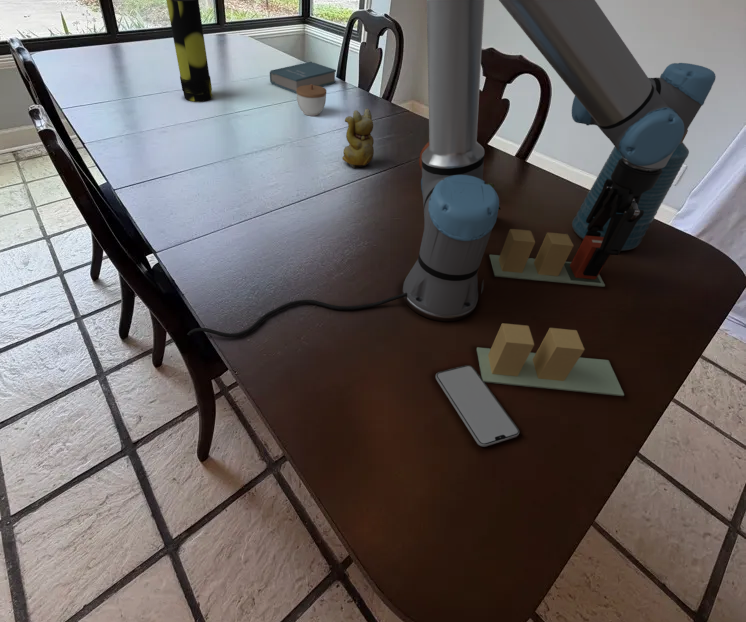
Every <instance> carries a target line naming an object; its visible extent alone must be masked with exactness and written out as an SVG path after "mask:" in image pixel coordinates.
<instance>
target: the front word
mask: <svg viewBox="0 0 746 622" xmlns="http://www.w3.org/2000/svg"><path fill="white" fill-rule="evenodd" d="M534 347H535V341H534V338H533V335H532V332H531V329H530V326H529V325H527V324H526V325H524V324H515V323H514V324H513V323H503V322H502V323H501V325H500V327H499V329H498V331H497V333H496V336H495V338H494V341H493V342H492V345H491V348H489V347H479V346H477V347H476V354H477V360H478V364H479V372H480V377H481V379H482V380H483V381H484V383H485V384H487V383H488V384H495V385H506V386H507V385H508V386H517V387H518V386H519V387H527V388H537V389H545V390H546V389H547V390H557V391H565V392H567V391H568V392H577V393H585V394H598V395H606V396H617V397H618V396H619V397H624V396H625V393H624V391H623V389H622V387H621V384H620V382H619V380H618V377H617V375H616V373H615V371H614V368H613V367H612V365H611V362H610V360H609V359H600V358H591V357H582V354H583V353H584V352H585V350H586V349H585V347H584V345H583V341H582V340H581V337H580V334H579V333H578V330H576V329H566V328H557V327H549V328H548V331H547V332H546V334H545V335H544V337H543V339H542V341H541V343H540V345H539V346H538V349H537V350H536V352H532V350H533V348H534Z"/></svg>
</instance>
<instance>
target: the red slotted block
mask: <svg viewBox="0 0 746 622" xmlns="http://www.w3.org/2000/svg"><path fill="white" fill-rule="evenodd" d="M603 238H604V237H598V236H587V235H586V236H585V237H584V239H583V240H582V241H581V243H580V245H579V247H578V249H577V250H578V251H577V250H576V252H577V253H576V252H575V254H576V255H575V254H574V257H573V259H572V261H570V262H571V264H570V267H571V269H572V271H573V274H574V276H575V277H576V278H586V279H596V278H597V276H598V275H600V273H601V271H602V270H603V267H604V266H605V264H606V263H607V261H608V259H609V257H610V256H611V254H610V255H609V257H608V259H607V260H606V262H605V264H604V265H603V266H602V268H601V270H600V271H599V273H598V275H597V276H587V275H584V274H583V272H584V270H585V269H586V267H587V265H588V263H589V261H590V260H591V258H592V256H593V254H594V252H595V250H596V247H597V248H600V246H601V244H602V241H603Z"/></svg>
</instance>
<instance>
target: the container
mask: <svg viewBox="0 0 746 622" xmlns="http://www.w3.org/2000/svg"><path fill="white" fill-rule="evenodd" d="M199 1H200V0H166V5H167V11H168V16H169V21H170V28H171V32H172V33H171V34H172V37H173V44H174V50H175V54H176V60H177V66H178V71H179V75H180V76H179V80H180V84H181V90H182V92H183V97H184V99H185V100H186V101H188V102H193V103H201V102H207V101H210V100H212V98H213V92H212V91H213V87H212V80H211V76H210V69H209V64H208V57H207V50H206V43H205V36H204V29H203V24H202V23H203V21H202V14H201V7H200V2H199Z"/></svg>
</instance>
